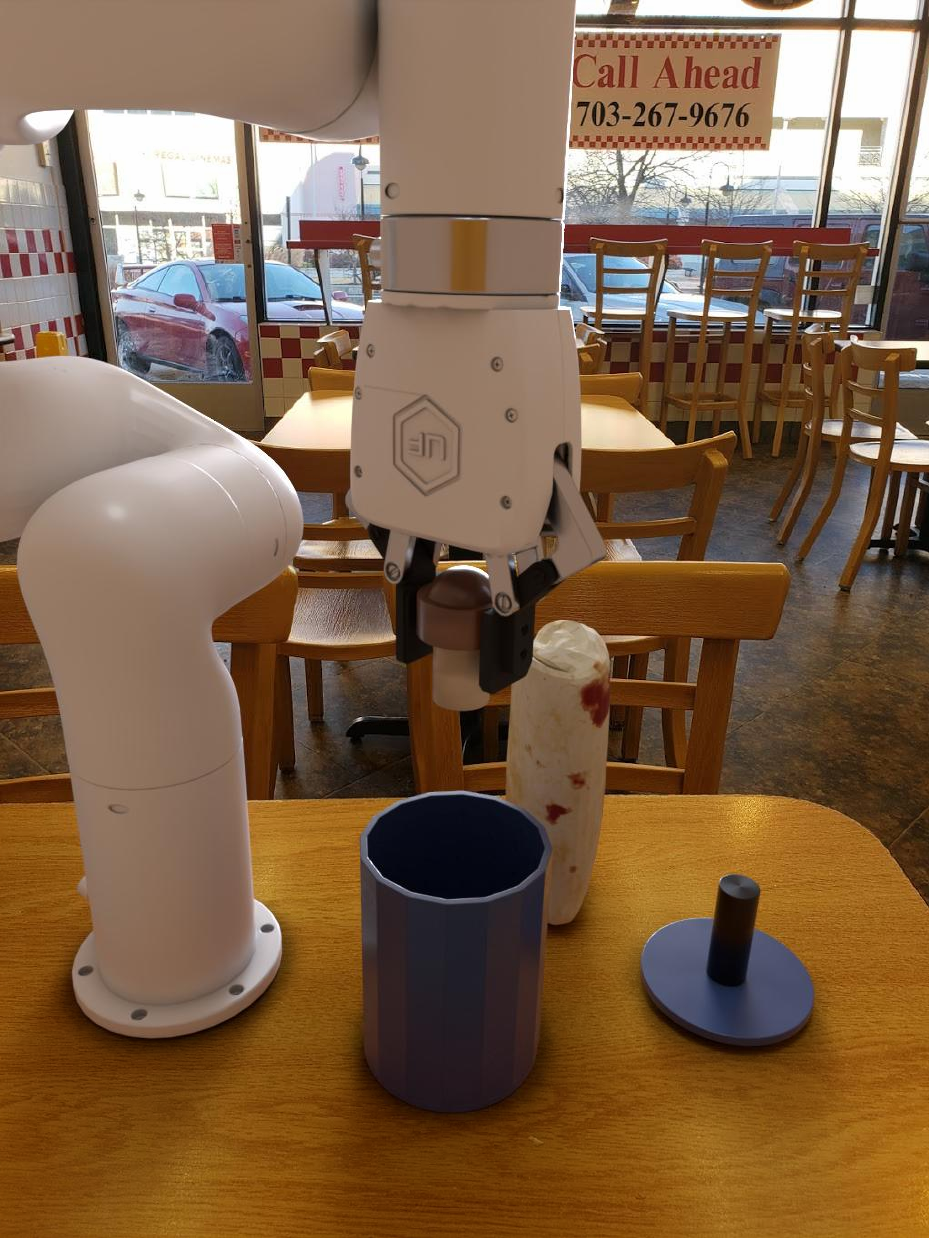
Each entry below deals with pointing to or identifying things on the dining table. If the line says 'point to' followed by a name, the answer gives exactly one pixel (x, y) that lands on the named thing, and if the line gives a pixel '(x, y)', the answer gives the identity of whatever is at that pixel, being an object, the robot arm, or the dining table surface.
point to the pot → (453, 947)
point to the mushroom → (455, 634)
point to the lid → (728, 973)
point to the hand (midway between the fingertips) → (461, 665)
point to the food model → (562, 753)
